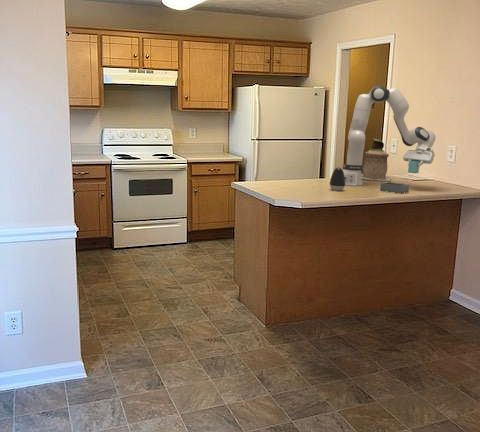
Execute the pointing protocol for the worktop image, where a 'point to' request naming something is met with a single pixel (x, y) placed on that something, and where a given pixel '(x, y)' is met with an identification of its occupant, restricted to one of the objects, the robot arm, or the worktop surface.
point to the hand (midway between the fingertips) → (413, 166)
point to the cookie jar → (375, 162)
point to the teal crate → (413, 167)
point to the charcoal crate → (394, 187)
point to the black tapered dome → (337, 180)
